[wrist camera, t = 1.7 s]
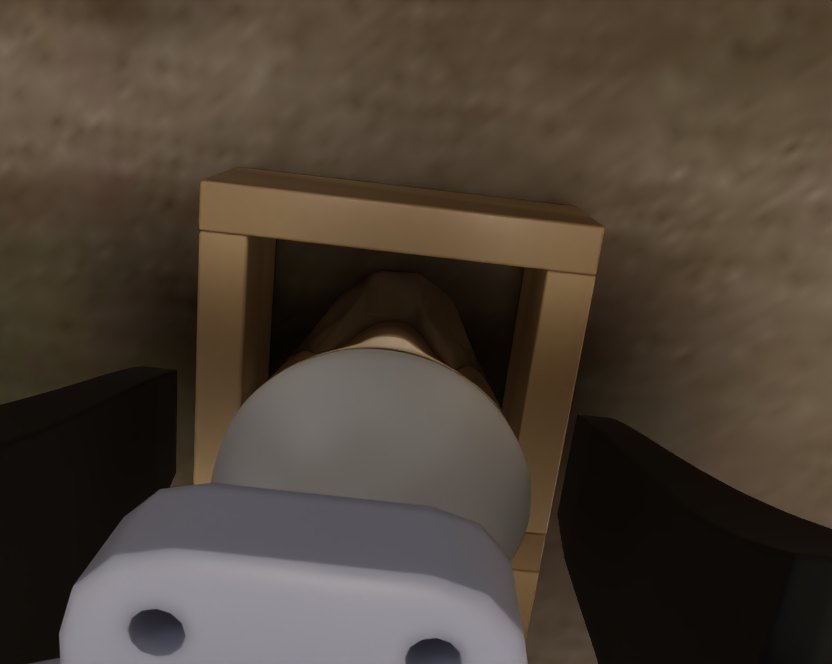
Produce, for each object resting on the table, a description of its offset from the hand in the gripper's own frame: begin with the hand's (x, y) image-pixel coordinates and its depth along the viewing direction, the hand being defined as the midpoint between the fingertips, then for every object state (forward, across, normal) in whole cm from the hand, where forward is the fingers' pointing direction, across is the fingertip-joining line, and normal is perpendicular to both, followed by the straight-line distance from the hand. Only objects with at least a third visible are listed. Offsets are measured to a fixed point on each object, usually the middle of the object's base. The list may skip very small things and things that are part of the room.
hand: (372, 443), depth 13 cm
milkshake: (+6, 0, 0) cm, 6 cm away
